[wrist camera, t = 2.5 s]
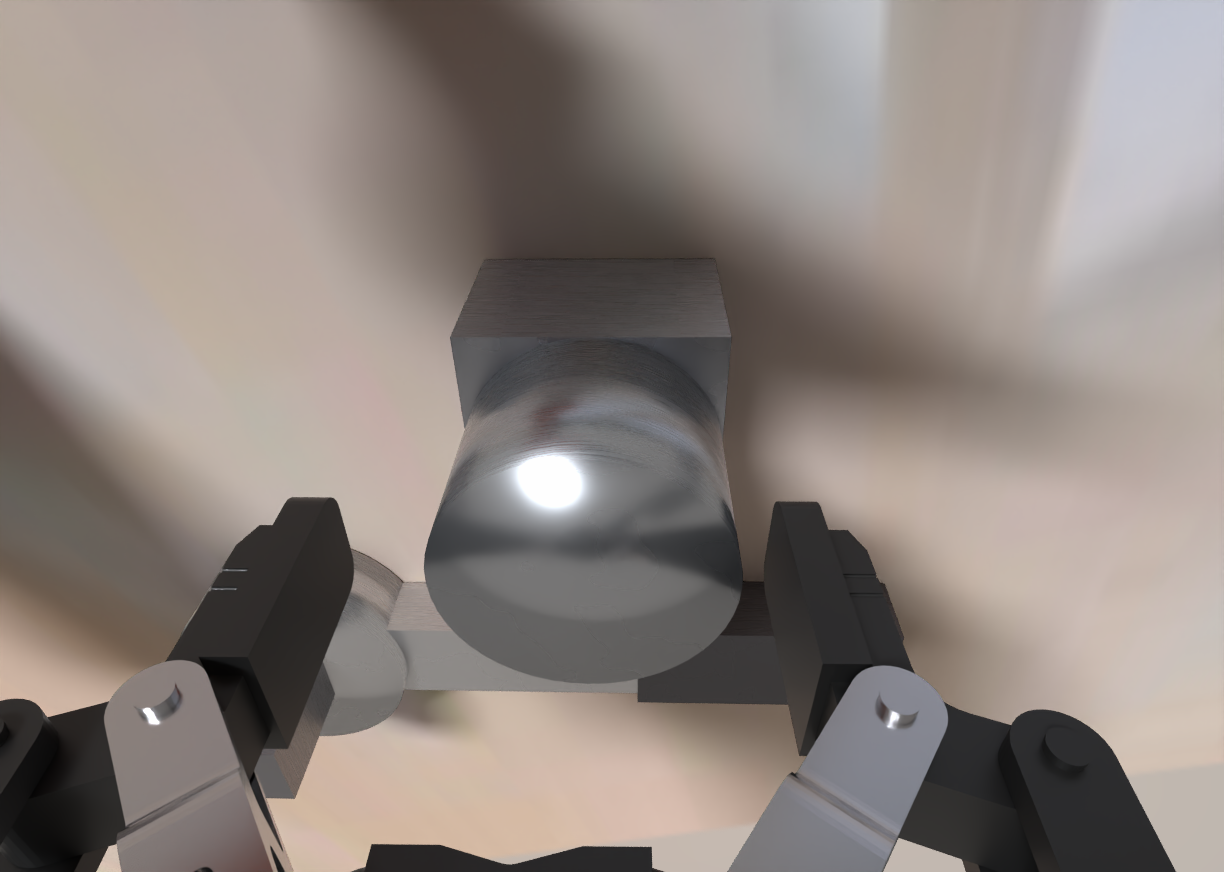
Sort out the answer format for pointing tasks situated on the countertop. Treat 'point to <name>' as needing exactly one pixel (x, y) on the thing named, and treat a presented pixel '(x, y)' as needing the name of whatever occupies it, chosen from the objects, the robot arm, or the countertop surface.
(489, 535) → the cylinder on square block
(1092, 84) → the countertop surface
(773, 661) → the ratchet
